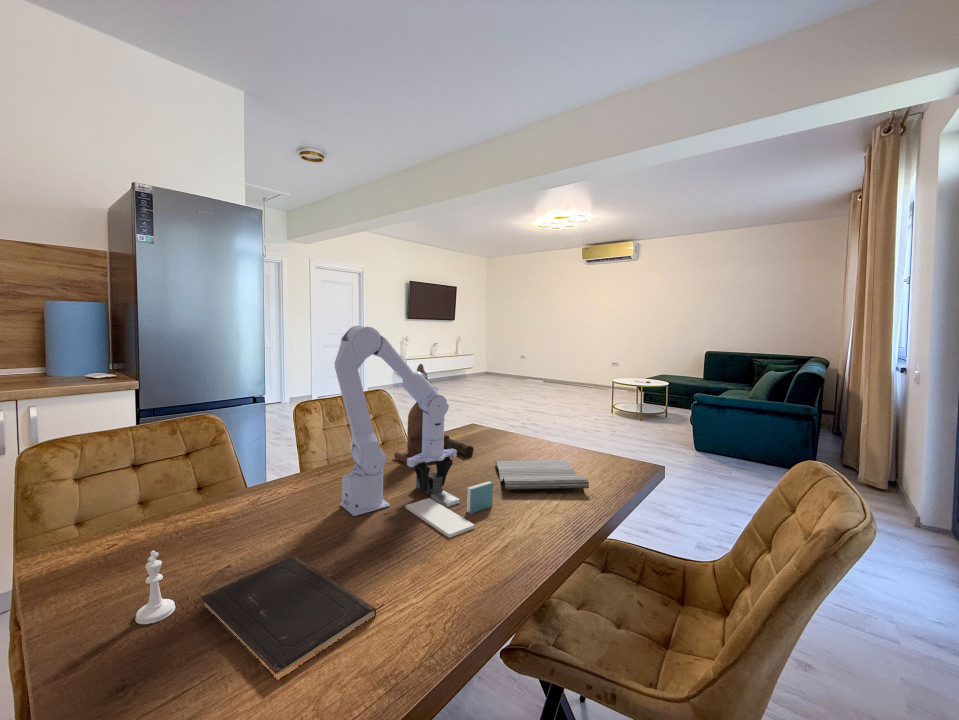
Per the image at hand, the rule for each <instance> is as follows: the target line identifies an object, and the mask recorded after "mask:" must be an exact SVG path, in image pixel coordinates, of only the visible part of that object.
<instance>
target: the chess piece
mask: <svg viewBox="0 0 959 720" xmlns="http://www.w3.org/2000/svg"><path fill="white" fill-rule="evenodd" d="M159 555H160V553H159V552H156V550H152V551H150V556H149V557H148V558H147V563H146V564H145V566H144V567H145V570H146V571H147V573H148V575H149V576H148V577H146V579H145V584H150V585H149V586H150V587H149V596H148V603H147V604H144V605H143V606H141V607H140V608H139V609H138V610H137V611H136V614H135V618H134V619H135V622H136V623H137V624H139V625H150V623H151V624H154V623H157V622H160V621H163V620H165V619H166V618H168V617H169V616H170V615H172V613H174V611H175V610H176V605H175V601H174V600H172V599H169V598H162V594H161V589H160V584H159V582H160V581H161V580H163V578H164V576H163V574H161V573H160V571H161V570H160V569H161V567H162V565H163V564H162V563H163V561H162V560H160V559H159V560H158V559H157V557H159Z"/></svg>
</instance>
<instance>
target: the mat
mask: <svg viewBox="0 0 959 720" xmlns="http://www.w3.org/2000/svg"><path fill="white" fill-rule="evenodd" d="M495 464H496V466H497V469H498V470H497V471H498V475H499V480H500V483H504V487H505V489H506V490H508V491H509V492H511V491H524V490H525V491H529V490H530V491H531V490H532V491H533V490H549V489H550V490H555V489H557V490H558V489H561V490H562V489H566V490H567V489H581V490H582V493H584V489H589V487H590V480H589V479H588V477H587V476H586V475H577V474H576V471H575V469H574V467H573V466H572V465H571V464H570V462H569V461H568V460H567V459H544V460H543V459H539V460H538V459H537V460H535V459H534V460H532V459H531V460H530V459H529V460H495Z"/></svg>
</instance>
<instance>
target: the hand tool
mask: <svg viewBox="0 0 959 720" xmlns="http://www.w3.org/2000/svg"><path fill="white" fill-rule="evenodd" d="M444 447H445V448H444V449H455V450H457V454H460V455H462V456H464V457H465V458H468V457H469V458H470V457H472V456H473V455H474V447H473V446H472V445H467V444H464V443H462V442H459V441H457V440H453V438H450V436H449V435H446V434H444Z"/></svg>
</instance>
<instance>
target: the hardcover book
mask: <svg viewBox="0 0 959 720" xmlns="http://www.w3.org/2000/svg"><path fill="white" fill-rule="evenodd" d="M201 600H202V601H203V602H204V607H205V608H206V609H207V608H208V609H207V610H208V611H209V612H210V613H211V614H212V615H213V614H214V615H215V616H216V617H217V618H218V619H219V620H220V621H221V622H222V623H223V624H224V625H225V626H226V627H227V628H228V629H229V630H230V631H231V632H232V633H233V634H234V635H235V636H236V637H237V638H238V639H239V640H240V641H241V642H242V643H243V644H244V645H246V646H247V647H248V649H250V650H251V651H252V652H253V653H254V654H255V655H256V656H257V657H259V658H260V659H261V660H262V661H264V662H265V663H266V665H267V666H268V667H269V668H270V669H271V670H272V671H273V672H274V673H275V674H276V673H277V674H279V673H280V672H282V671H284V670H285V669H287V668H289V667H291V666H292V665H294V664H296V663H298V662H300V661H301V660H303V659H304V658H306V657H307V656H308V655H310V654H312V653H313V652H315V651H317V650H318V649H320V648H321V647H322V648H323V647H324V646H326V645H327V644H329V643H331V642H333V641H334V640H336V639H337V638H339V637H341V636H342V635H344V634H345V633H347V632H348V631H350V630H352V629H353V628H355V627H356V626H358V625H359V624H361V623H363V622H364V621H366V620H368V619H370V618H371V617H373V616H374V615H375V616H376V617H377V609H376V608H375V607H374V606H372V605H371V604H369V603H368V602H366V601H365V600H363V599H362V598H360V597H359V596H357V595H356V594H354V593H352V592H351V591H350V590H348V589H346V588H345V587H343V586H342V585H341V584H339V583H338V582H336V581H334V580H333V579H331V578H330V577H328V576H327V575H325V574H323V573H322V572H320V571H319V570H317V569H316V568H314V567H313V566H311V565H310V564H308V563H307V562H305V561H304V560H302V559H301V558H300V557H298V556H296V555H293V556H290V557H288V558H285V559H284V560H280V561H279V562H276V563H274V564H272V565H270V566H268V567H265V568H263V569H261V570H259V571H256V572H253V573H252V574H249V575H247V576H245V577H243V578H240V579H238V580H235V581H234V582H231V583H230V584H227V585H225V586H223V587H220V588H217V589H216V590H214V591H211V592H209V593H206V594H204V595H202V596H201ZM214 615H213V616H214ZM215 616H214V617H215ZM216 617H215V618H216ZM217 618H216V619H217ZM373 618H374V617H373ZM218 619H217V620H218ZM219 620H218V621H219ZM370 620H371V619H370ZM220 621H219V622H220ZM221 622H220V623H221ZM222 623H221V624H222ZM223 624H222V625H223ZM224 625H223V626H224ZM225 626H224V627H225ZM226 627H225V628H226ZM227 628H226V629H227ZM228 629H227V630H228ZM229 630H228V631H229ZM230 631H229V632H230ZM231 632H230V633H231ZM232 633H231V634H232ZM233 634H232V635H233ZM234 635H233V636H234ZM235 636H234V637H235ZM236 637H235V638H236ZM237 638H236V639H237ZM238 639H237V640H238Z"/></svg>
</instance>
